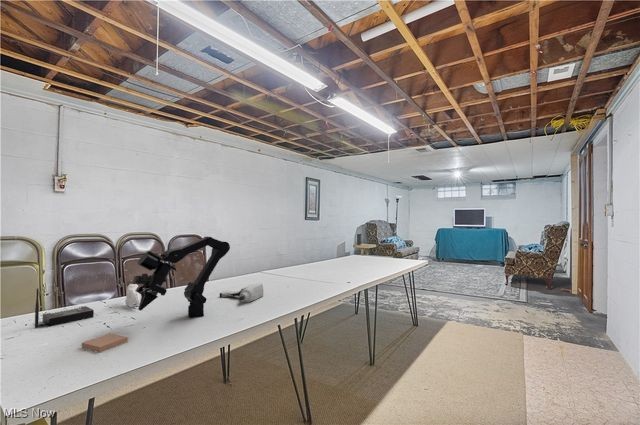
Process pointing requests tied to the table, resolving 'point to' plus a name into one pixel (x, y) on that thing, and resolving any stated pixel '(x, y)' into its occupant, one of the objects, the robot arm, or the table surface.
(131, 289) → the white dinosaur figurine
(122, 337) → the tile
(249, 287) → the impact wrench
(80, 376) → the table surface
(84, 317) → the black l-shaped piece
